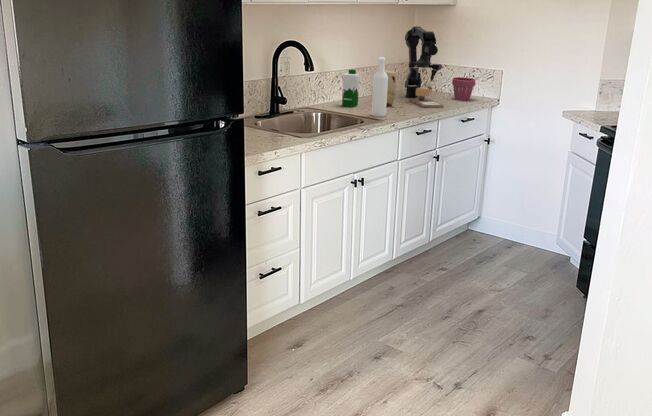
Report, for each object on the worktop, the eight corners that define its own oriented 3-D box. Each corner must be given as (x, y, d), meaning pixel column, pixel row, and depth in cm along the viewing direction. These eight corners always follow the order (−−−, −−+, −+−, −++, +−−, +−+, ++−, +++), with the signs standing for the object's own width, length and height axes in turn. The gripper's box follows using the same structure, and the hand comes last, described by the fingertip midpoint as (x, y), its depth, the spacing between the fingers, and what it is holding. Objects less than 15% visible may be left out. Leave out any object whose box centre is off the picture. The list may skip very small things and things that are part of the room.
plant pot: (475, 101, 383) (477, 80, 379) (452, 101, 383) (454, 79, 379) (471, 98, 397) (473, 77, 393) (448, 97, 397) (450, 76, 393)
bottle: (371, 116, 329) (374, 58, 319) (370, 113, 336) (373, 56, 327) (386, 117, 329) (390, 58, 319) (385, 114, 337) (388, 57, 327)
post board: (408, 100, 379) (409, 88, 377) (427, 100, 382) (428, 88, 379) (423, 108, 357) (424, 94, 355) (443, 107, 360) (444, 94, 357)
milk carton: (359, 105, 360) (361, 70, 354) (354, 107, 352) (356, 71, 346) (345, 104, 363) (346, 68, 356) (339, 106, 355) (341, 70, 348)
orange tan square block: (415, 95, 373) (415, 88, 371) (419, 94, 377) (420, 87, 376) (424, 96, 370) (425, 89, 368) (428, 95, 375) (429, 88, 373)
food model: (376, 105, 362) (378, 70, 355) (381, 103, 367) (383, 69, 360) (391, 107, 357) (393, 71, 350) (396, 105, 362) (399, 70, 356)
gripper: (405, 53, 363) (403, 80, 369) (436, 55, 355) (433, 83, 360) (413, 52, 373) (411, 78, 378) (443, 54, 364) (440, 81, 369)
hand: (423, 80), depth 371 cm, fingers open, 9 cm apart
